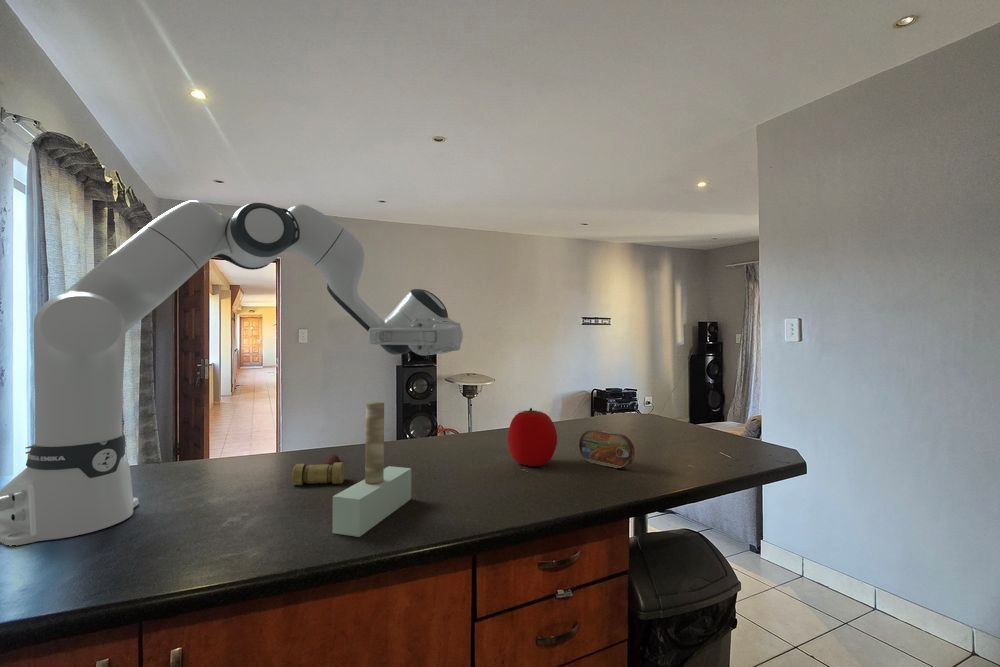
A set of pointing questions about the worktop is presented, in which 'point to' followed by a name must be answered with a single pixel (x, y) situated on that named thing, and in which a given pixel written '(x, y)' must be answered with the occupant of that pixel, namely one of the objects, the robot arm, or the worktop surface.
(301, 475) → the gavel
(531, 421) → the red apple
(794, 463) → the worktop surface
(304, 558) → the worktop surface
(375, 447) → the dowel
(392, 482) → the pale mint rectangular block
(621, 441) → the tin
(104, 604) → the worktop surface
